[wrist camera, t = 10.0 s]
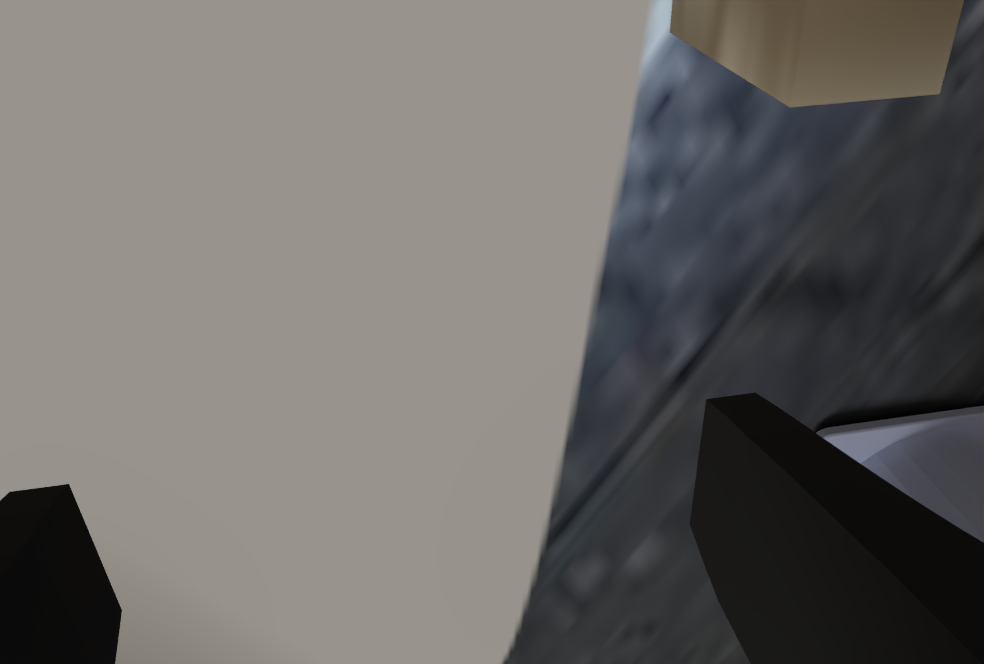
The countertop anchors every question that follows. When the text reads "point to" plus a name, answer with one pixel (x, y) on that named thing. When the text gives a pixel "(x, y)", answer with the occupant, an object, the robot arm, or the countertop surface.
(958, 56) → the countertop surface
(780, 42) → the corded block
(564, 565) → the countertop surface
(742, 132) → the countertop surface
